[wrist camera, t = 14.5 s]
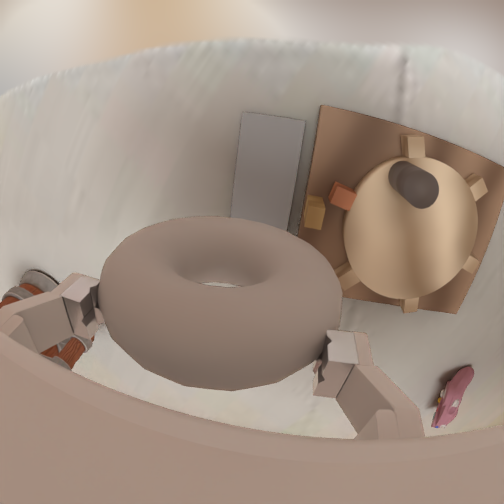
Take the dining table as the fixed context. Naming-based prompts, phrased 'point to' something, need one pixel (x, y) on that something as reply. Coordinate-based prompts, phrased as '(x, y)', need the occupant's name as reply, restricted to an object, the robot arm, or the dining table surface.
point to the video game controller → (452, 397)
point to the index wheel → (408, 225)
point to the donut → (219, 301)
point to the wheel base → (364, 160)
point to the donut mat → (266, 168)
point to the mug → (64, 350)
